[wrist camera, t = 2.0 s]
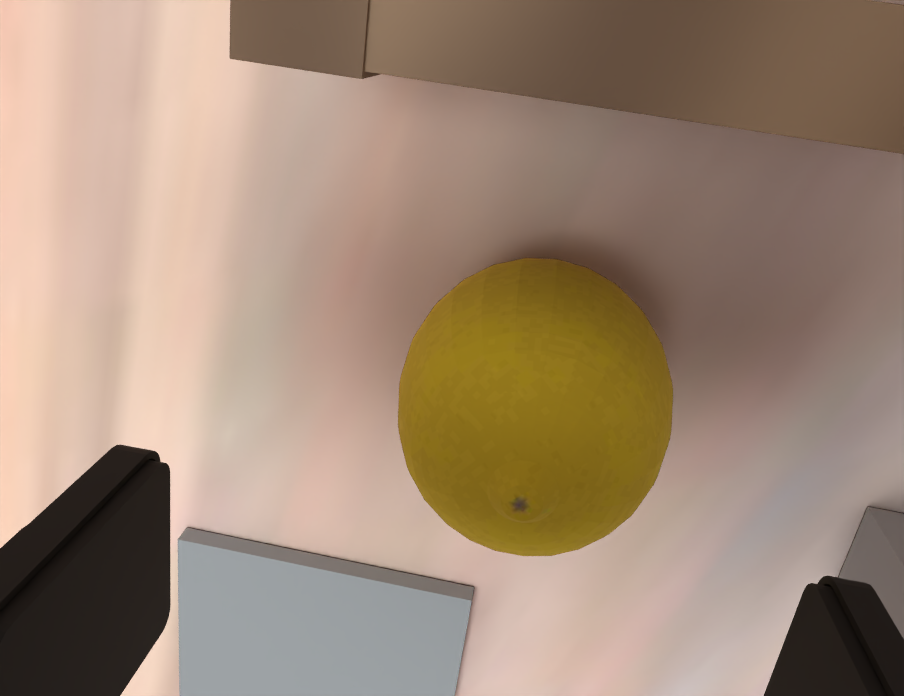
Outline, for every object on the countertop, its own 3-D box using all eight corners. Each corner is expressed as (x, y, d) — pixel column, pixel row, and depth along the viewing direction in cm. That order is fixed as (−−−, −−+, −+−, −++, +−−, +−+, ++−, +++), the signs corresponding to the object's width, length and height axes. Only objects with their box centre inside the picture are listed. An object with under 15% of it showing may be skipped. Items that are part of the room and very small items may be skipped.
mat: (474, 587, 23) (471, 600, 23) (440, 772, 26) (437, 788, 26) (187, 527, 24) (177, 539, 23) (188, 714, 27) (179, 728, 27)
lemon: (501, 178, 18) (452, 279, 11) (699, 293, 19) (777, 464, 12) (397, 360, 21) (300, 542, 13) (576, 459, 21) (577, 690, 14)
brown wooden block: (948, 28, 15) (1160, 30, 10) (910, 133, 16) (1086, 191, 10) (349, -55, 16) (232, -97, 11) (342, 47, 17) (229, 59, 11)
